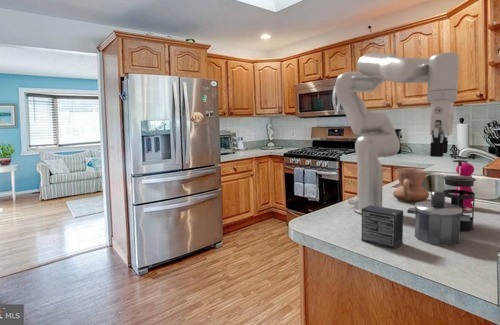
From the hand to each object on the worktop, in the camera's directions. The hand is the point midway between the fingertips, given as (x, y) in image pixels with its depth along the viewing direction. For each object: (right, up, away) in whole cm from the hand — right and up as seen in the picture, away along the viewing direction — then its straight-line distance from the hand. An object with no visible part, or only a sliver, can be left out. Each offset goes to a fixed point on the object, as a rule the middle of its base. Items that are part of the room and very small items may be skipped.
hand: (438, 154), depth 91 cm
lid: (+1, -17, +2) cm, 17 cm away
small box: (-17, -27, +2) cm, 32 cm away
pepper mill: (+31, -21, +34) cm, 50 cm away
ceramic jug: (+16, -20, +47) cm, 53 cm away
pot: (+1, -26, +3) cm, 26 cm away
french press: (+14, -25, +12) cm, 31 cm away
